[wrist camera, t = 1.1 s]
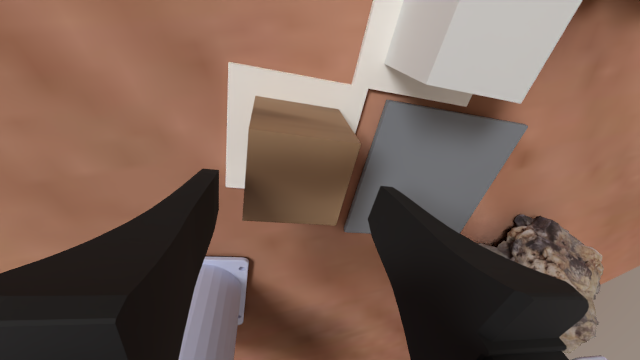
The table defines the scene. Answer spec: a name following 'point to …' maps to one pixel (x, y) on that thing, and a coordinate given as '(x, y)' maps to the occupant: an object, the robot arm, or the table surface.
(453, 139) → the slate mat
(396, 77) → the code tile
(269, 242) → the table surface
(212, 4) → the table surface
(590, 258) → the rock
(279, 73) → the code tile
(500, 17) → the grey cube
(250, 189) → the walnut cube
